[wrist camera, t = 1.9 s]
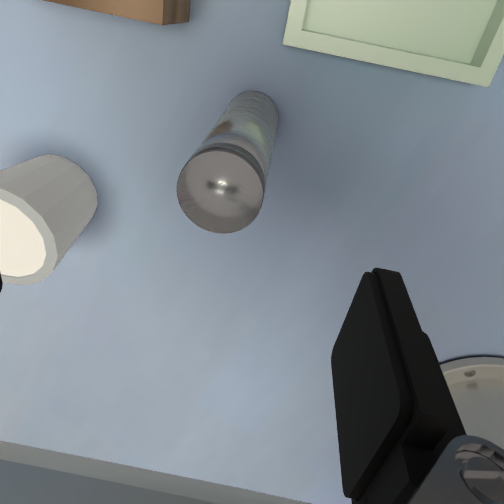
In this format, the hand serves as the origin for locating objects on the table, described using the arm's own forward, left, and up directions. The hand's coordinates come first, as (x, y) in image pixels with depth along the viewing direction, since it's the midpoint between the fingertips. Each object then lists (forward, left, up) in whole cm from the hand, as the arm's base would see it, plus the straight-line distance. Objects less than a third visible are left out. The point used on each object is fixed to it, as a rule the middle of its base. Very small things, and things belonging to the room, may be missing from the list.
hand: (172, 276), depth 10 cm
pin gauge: (0, 0, -18) cm, 18 cm away
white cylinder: (+13, +8, -18) cm, 23 cm away
